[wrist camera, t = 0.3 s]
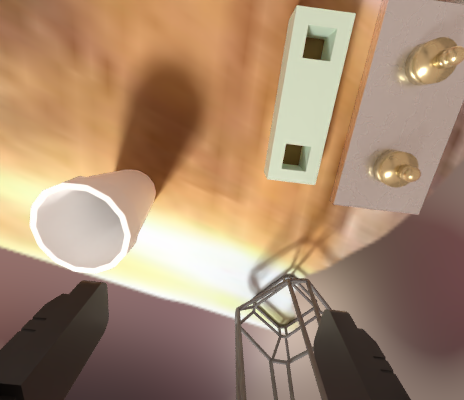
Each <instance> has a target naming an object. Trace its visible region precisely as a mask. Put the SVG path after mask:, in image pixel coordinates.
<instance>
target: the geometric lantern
mask: <svg viewBox="0 0 464 400" xmlns="http://www.w3.org/2000/svg"><path fill="white" fill-rule="evenodd" d="M285 278H290V279H286V280H285ZM282 280H283V282H281V283H279V282H280V281H282ZM278 283H279V284H278ZM300 283H306V285H307V288H308V291H309V292H308V291H307V290H306V289H305V288H304V287H303V286H302V285H301V284H300ZM276 284H277V285H276ZM295 284H298V285H299V286H300V287H301V288H302V289H303V290H304V291H305V292H306V293H307V294H308V295H309V296H310V297H311V300H310V299H309V298H308V297H307V296H305V295H304V293H303V292H301V290H300V289H299V288H298V287H297V286H296V285H295ZM275 285H276V286H275ZM287 285H288V288H289V291H290V294H291V297H292V301H293V304H294V307H295V311H296V314H297V317H298V318H296V319H295V320H293V321H292V322H290V323H289V324H287V325H286V326H278V325H277V324H276V323H275V322H274V321H273V320H272V319H271V318H270V317H268V316H267V315H266V314H265V313H264V312H263V311H262V310H261V309H260V308H259V307H258V305H260V304H261V303H263V302H264V301H265V300H267V299H268V298H270V297H271V296H273V295H274V294H275V293H277V292H278V291H280V290H281V289H282V288H284V287H285V286H287ZM273 286H274V287H273ZM292 286H293V287H294V288H295V289H296V290H297V291H298V292H299V293H300V294H301V295H302V296H303V297H304V298H305V299H306V300H307V301H308V302H309V303H310V304H311V305H312V306H313V308H311V309H310V310H309V311H307V312H305V313H304V314H302V315H301V312H300V309H299V306H298V302H297V299H296V296H295V293H294V290H293V287H292ZM273 291H274V292H273ZM313 292H314V293H315V295H316V296H317V297H318V298H319V300H320V301H321V302H322V304H323V305H324V306H325V307H326V309H328V310H332V309H331V308H330V307H329V305H328V304H327V303H326V301H325V300H324V299H323V298H322V296H321V295H320V294H319V293H318V291H317V290H316V289H315V287H313V285H312V284H311V282H310V281H309V280H308V279H299V278H294V277H293V276H292V275H289V276H283V277H282V278H280V279H279V280H278V281H276V282H275V283H274V284H272V285H271V286H269V287H268V288H267V289H265V290H264V291H262V292H261V293H260V294H258V295H257V296H256V297H254V298H253V299H251V300H250V301H248V302H246V303H245V304H243V305H241V306H239V307H238V308H236V312H235V337H236V338H235V339H236V400H246V388H245V374H244V361H243V347H242V334H241V332H242V333H243V334H244V335H245V336H246V337H247V338H248V339H249V340H250V341H251V342H252V343H253V345H254V346H255V347H257V349H258V350H259V351H260V352H261V353H262V354H263V355H264V356H265V357H266V358H267V359H268V360H269V364H270V372H271V380H272V388H273V396H274V400H278V397H277V390H276V383H275V376H274V369H273V363H279V364H286V366H287V374H288V383H289V391H290V398H291V400H295V399H294V392H293V386H292V379H291V371H290V363H292V362H294V361H295V360H298V359H299V358H301V357H303V356H305V355H307V354H308V355H309V358H310V361H311V365H312V368H313V371H314V375H315V378H316V381H317V385H318V388H319V392H320V395H321V399H322V400H328V398H327V395H326V392H325V389H324V385H323V382H322V379H321V376H320V373H319V370H318V366H317V363H316V360H315V356H314V353H313V351H314V347H312V346H311V343H310V340H309V337H308V334H307V331H306V328H305V326H306V325H307V324H308V323H310V322H311V321H313V320H314V319H316V318H317V321H318V325H319V324H320V321H321V316H320V313H321V314H323V312H322V311H321V310H320V308H319V306H318V304H317V300H316V299H315V297H314V294H313ZM270 293H271V294H270ZM268 294H270V295H268ZM266 295H268V296H267V297H265V296H266ZM263 297H265V298H264V299H263V300H261V301H260V302H258V303H257V304H255V302H256V301H258V300H259V299H261V298H263ZM252 303H253V306H249V305H251V304H252ZM247 306H248V307H247ZM252 308H253V311H252V312H251V313H250V314H248V315H247V316H246V317H245V318H244V319H243V320H240V311H241V310H246V309H252ZM255 308H256V309H257V310H259V311H260V312H261V313H262V314H263V315H264V316H265V317H266V318H267V319H268V320H270V321H271V322H272V323H273V324H274V325H275V326H276V327H277V328H278V330H279V333H278V332H277V331H276V330H275V329H274V328H273V327H272V326H270V325H269V324H268V323H267V322H266V321H265V320H264V319H263V318H262V317H260V316H259V315H258V314H257V313H256V312H255ZM313 310H314V311H315V315H316V316H314V317H313V318H311V319H310V320H308V321H307V322H305V323H304V321H303V318H302V317H304V316H305V315H307V314H308V313H310V312H311V311H313ZM253 313H254V314H255V315H256V316H257V317H258V318H259V319H260V320H261V321H263V322H264V323H265V324H266V325H267V326H268V327H269V328H270V329H271V330H273V331H274V332H275V333H276V334H277V335H278V336H279V338H278V341H277V344H276V347H275V350H274V353H273V356H272V358H270V356H269V355H268V354H267V353H266V352H265V351H264V350H263V349H262V348H261V347H260V346H259V345H258V344H257V343H256V342H255V341H254V339H253V338H252V337H251V336H250V335H249V334H248V333H247V332H246V331H245V330H244V329H243V328H242V327H241V324H242V323H243V322H244V321H245V320H246V319H248V318H249V317H250V316H251V315H252V314H253ZM296 321H299V324H300V326H299V327H298V328H296V329H295V330H294V331H292V332H291V333H289V334H288V333H287V327H289V326H290V325H292V324H293V323H295V322H296ZM280 328H285V334H286V336H285V335H281V329H280ZM300 329H301V331H302V334H303V338H304V341H305V344H306V348H307V350H306V351H304V352H302V353H300V354H299V355H296V356H294V357H293V358H291V359H290V356H289V349H288V342H287V338H288V337H289V336H291V335H292V334H294V333H295V332H297V331H298V330H300ZM281 337H282V338H285V343H286V351H287V358H288V360H287V361H284V360H277V359H274V357H275V354H276V351H277V348H278V345H279V343H280V340H281Z"/></svg>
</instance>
